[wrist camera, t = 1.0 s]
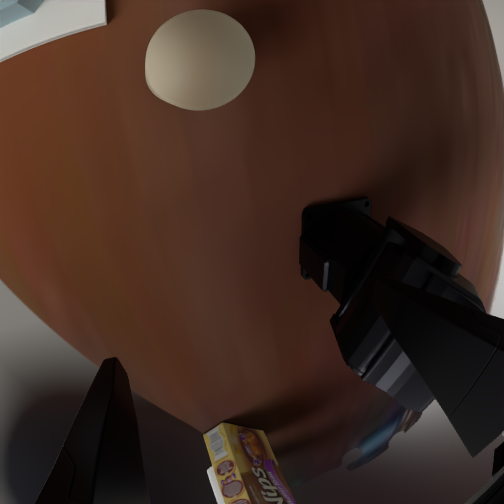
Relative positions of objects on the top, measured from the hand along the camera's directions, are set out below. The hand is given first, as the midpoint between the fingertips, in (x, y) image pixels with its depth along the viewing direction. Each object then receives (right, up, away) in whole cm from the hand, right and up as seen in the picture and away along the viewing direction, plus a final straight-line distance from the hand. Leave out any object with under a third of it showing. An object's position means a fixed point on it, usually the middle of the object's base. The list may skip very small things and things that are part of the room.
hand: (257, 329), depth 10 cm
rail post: (-5, +13, +6) cm, 15 cm away
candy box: (-3, -23, +28) cm, 36 cm away
